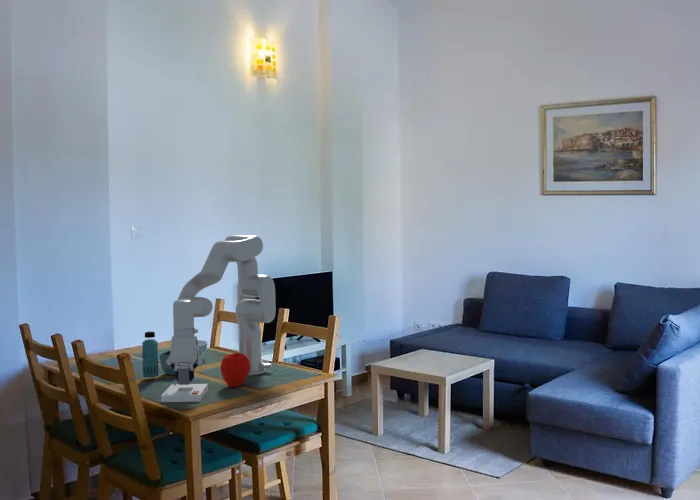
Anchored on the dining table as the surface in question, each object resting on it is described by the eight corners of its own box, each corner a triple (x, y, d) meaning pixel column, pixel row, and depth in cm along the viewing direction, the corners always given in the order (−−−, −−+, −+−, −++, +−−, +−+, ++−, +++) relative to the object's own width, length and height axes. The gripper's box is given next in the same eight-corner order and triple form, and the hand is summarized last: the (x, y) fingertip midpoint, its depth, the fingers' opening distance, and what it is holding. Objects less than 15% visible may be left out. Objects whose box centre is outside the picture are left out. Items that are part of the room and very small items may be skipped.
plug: (191, 382, 263) (191, 363, 262) (189, 384, 259) (188, 366, 258) (180, 382, 263) (180, 363, 262) (178, 384, 258) (177, 366, 258)
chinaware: (175, 356, 330) (175, 340, 329) (208, 355, 332) (207, 339, 332) (174, 363, 315) (173, 347, 314) (207, 362, 318) (207, 345, 317)
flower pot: (178, 376, 292) (178, 355, 291) (159, 375, 293) (158, 354, 293) (187, 371, 300) (187, 351, 300) (168, 370, 302) (168, 350, 301)
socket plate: (207, 390, 269) (207, 382, 269) (199, 401, 253) (199, 393, 253) (171, 390, 269) (171, 382, 269) (161, 402, 253) (161, 394, 253)
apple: (245, 390, 267) (244, 356, 267) (216, 389, 269) (215, 355, 269) (254, 383, 279) (253, 350, 278) (226, 382, 281) (225, 349, 280)
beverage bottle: (152, 376, 291) (151, 329, 290) (162, 379, 287) (161, 331, 286) (139, 379, 286) (138, 332, 285) (148, 382, 282) (147, 333, 281)
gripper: (208, 330, 263) (209, 378, 264) (164, 331, 263) (165, 378, 264) (204, 334, 256) (205, 382, 257) (158, 334, 256) (160, 383, 257)
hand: (184, 380), depth 261 cm, fingers closed on plug, 4 cm apart
